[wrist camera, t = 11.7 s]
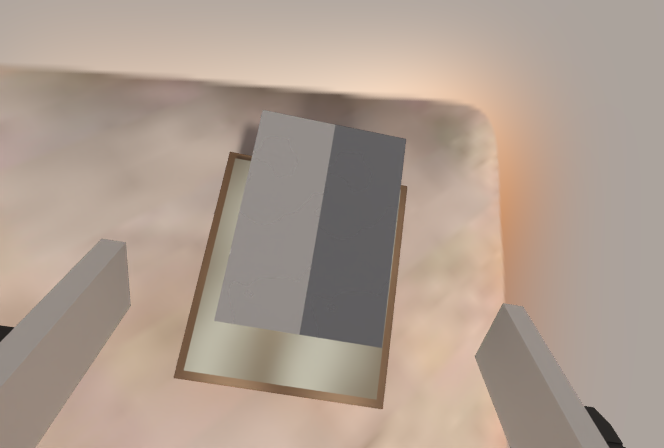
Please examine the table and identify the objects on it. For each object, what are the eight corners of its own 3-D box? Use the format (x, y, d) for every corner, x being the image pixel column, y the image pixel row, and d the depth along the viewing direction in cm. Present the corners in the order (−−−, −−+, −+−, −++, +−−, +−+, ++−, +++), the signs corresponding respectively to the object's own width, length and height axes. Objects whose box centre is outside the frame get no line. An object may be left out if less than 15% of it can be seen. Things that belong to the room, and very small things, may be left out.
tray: (185, 372, 25) (172, 378, 22) (235, 169, 29) (229, 149, 26) (371, 400, 26) (383, 410, 23) (395, 200, 30) (408, 184, 26)
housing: (248, 324, 23) (214, 321, 11) (271, 211, 25) (262, 109, 13) (332, 338, 23) (381, 347, 12) (349, 225, 25) (406, 138, 14)
